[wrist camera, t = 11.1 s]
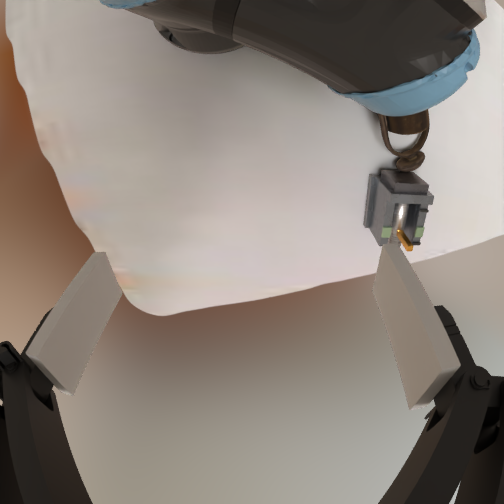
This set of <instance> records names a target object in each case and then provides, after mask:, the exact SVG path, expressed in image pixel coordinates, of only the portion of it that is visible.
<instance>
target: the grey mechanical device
mask: <svg viewBox="0 0 504 504" xmlns="http://www.w3.org/2000/svg"><path fill="white" fill-rule="evenodd" d="M381 179H382V180H383V181H384V182H385V183H386V184H387V185H388V186H389V187H390V188H391V189H392V190H393V191H394V192H406V193H425V194H427V193H428V187H429V185H428V184H427V183H426V182H425V181H424V180H422V179H421V178H420V177H419V176H417V175H416V174H415V173H414V172H410V171H409V172H403V171H396V170H382V171H381ZM408 208H409V204H402V203H395V207H394V213H393V219H392V224H391V227H392V230H391V235H390V238H389V240H388V244H398V245H399V247H400V246H401V243H402V244H403V246H404V247H405V249H406V251H412V250H413V244H412V243H411V242H410V240H409V239H408V237H407V236H406V234H405V233H404V228H405V223H406V218H407V213H408Z"/></svg>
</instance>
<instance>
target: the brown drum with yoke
mask: <svg viewBox="0 0 504 504" xmlns="http://www.w3.org/2000/svg"><path fill="white" fill-rule="evenodd" d="M378 117H379V121H380V126H381V132H382V137H383V140H384V143H385V145H386V147H387V149H388V150H389V151H390V152H391V153H392V154H394V155H396V156H398V157H401V158H400V159H399V160H398V161H397V163H396V167H397V168H398V169H399V170H400V171H403V172H409V171H413V170H415V169H417V168H418V167H420V166H421V164H422V163H423V161H424V159H425V155H424V153H423V152H418V151H419V150H420V149H421V148H422V147H423V145H424V143H425V141H426V139H427V136H428V132H429V125H430V124H429V113H428V109H427V110H424V111H422V112H419V113H415V114H411V115H406V116H386V115H382V114H379V113H378ZM388 131H390V132H392V133H396V134H401V135H410V134H417V133H420V132H422V131H423V132H422V134H421V136H420V139H419V140H418V142H417V143H416V144H415V146H414V147H413V148H411V149H409V150H407V151H405V152H401V153H400V152H396V151H395V150H394V149H393V148H392V147H391V145H390V141H389V137H388Z"/></svg>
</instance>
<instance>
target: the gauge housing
mask: <svg viewBox="0 0 504 504" xmlns="http://www.w3.org/2000/svg"><path fill="white" fill-rule="evenodd" d="M433 199H434V196H433V195H432V194H431V193H430V192H429V191H428V193H427V194H425V193H406V192H394V191H393V190H392V189H391V188H390V187H389V186H388V185H387V184H386V183H385V182H384V181H383V180H382V179H381V175H372V174H369V183H368V192H367V201H366V210H365V218H364V226H365V228H370V230H371V232H372V234H373V236H374V237H375V239H376V241H377V243H378V245H379V246H383V244H388V240H389V238H390V235H391V230H392V227H391V224H392V219H393V213H394V207H395V203H402V204H409V208H408V213H407V218H406V223H405V228H404V233H405V234H406V236H407V237H408V239H409V240H410V242H411V243H412V244H413V245H420V238H421V237H422V235H423V231H424V227H423V226H424V222H425V218H426V213H427V212H428V209H427V208H428V204H429V205H432V204H433Z"/></svg>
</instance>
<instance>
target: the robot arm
mask: <svg viewBox="0 0 504 504" xmlns="http://www.w3.org/2000/svg"><path fill="white" fill-rule="evenodd" d="M100 2H101V3H102V4H103V5H106V6H108V7H111V8H115V9H125V10H128V11H130V12H133V13H136V14H138V15H141V16H144V17H146V18H149V19H151V20H153V22H154V24H155V26H156V28H157V30H158V31H159V32H160V34H161V35H162V36H163V37H164V38H165V39H166V40H168V41H169V42H170V43H172V44H173V45H175V46H177V47H180V48H182V49H185V50H188V51H191V52H195V53H201V54H218V53H224V52H229V51H233V50H236V49H238V48H241V47H243V46H248V47H251V48H253V49H255V50H258V51H260V52H263V53H265V54H267V55H269V56H272V57H274V58H276V59H278V60H280V61H283V62H285V63H287V64H289V65H291V66H293V67H295V68H297V69H299V70H301V71H303V72H305V73H307V74H309V75H311V76H312V77H314V78H316V79H318V80H320V81H322V82H323V83H325V84H327V86H328V87H329V88H330V89H331V90H332V91H333V92H335V93H336V94H338V95H342V96H344V97H347V98H351V99H352V100H354V101H356V102H357V103H359V104H361V105H362V106H364V107H366V108H367V109H369V110H371V111H373V112H375V113H379V114H382V115H386V116H406V115H411V114H415V113H419V112H422V111H424V110H427V109H429V108H431V107H433V106H435V105H437V104H439V103H441V102H442V101H444V100H445V99H447V98H448V97H450V96H451V95H452V94H454V93H455V92H456V91H457V90H458V89H459V88H460V87H461V86H462V85H463V84H464V83H465V82H466V81H467V79H468V78H467V75H466V72H468V71H471V70H474V69H475V67H476V65H477V63H478V60H479V56H480V44H479V41H478V38H477V36H476V32H475V30H474V29H473V28H474V27H476V26H477V25H478V24H479V23H481V22H482V21H483V20H484V19H486V18H487V15H486V6H485V0H100ZM372 291H373V294H374V297H375V300H376V302H377V305H378V308H379V310H380V313H381V316H382V319H383V322H384V325H385V328H386V331H387V334H388V337H389V339H390V343H391V346H392V349H393V352H394V356H395V359H396V362H397V365H398V369H399V372H400V376H401V380H402V383H403V387H404V390H405V394H406V398H407V402H408V406H409V410H413V409H417V408H422V407H426V406H427V405H428V404H429V403H430V402H431V401H432V400H433V399H434V402H435V405H436V406H435V407H434V408H433V409H432V410H431V411H430V412H429V413H428V414H427V415H426V417H425V419H427V418H429V419H428V421H427V423H426V425H425V427H424V429H423V431H422V433H421V435H420V437H419V439H418V441H417V443H416V445H415V447H414V448H413V450H412V452H411V454H410V455H409V457H408V459H407V461H406V462H405V464H404V466H403V467H402V469H401V471H400V472H399V474H398V476H397V477H396V479H395V480H394V482H393V483H392V485H391V486H390V488H389V489H388V491H387V492H386V493H385V495H384V496H383V498H382V499H381V500H380V502H379V503H378V504H449V502H450V501H451V499H452V497H453V495H454V493H455V491H456V489H457V487H458V485H459V483H460V486H459V490H458V493H457V496H456V500H455V503H454V504H504V377H501V376H491V375H490V374H489V373H488V371H487V370H486V369H484V368H483V367H480V366H476V364H475V363H474V360H473V358H472V356H471V354H470V352H469V349H468V347H467V345H466V343H465V341H464V339H463V337H462V335H461V334H460V331H459V329H458V327H457V326H456V323H455V321H454V319H453V317H452V315H451V314H450V313H449V312H448V311H447V310H446V309H445V308H444V307H443V306H442V305H441V306H433V304H432V302H431V300H430V299H429V297H428V295H427V293H426V291H425V289H424V287H423V286H422V284H421V282H420V280H419V278H418V277H417V275H416V273H415V272H414V270H413V268H412V267H411V265H410V263H409V261H408V260H407V258H406V256H405V255H404V253H403V251H402V250H401V248H400V247H399V245H398V244H383V246H382V251H381V256H380V260H379V265H378V269H377V273H376V278H375V282H374V286H373V290H372ZM121 295H122V291H121V289H120V287H119V284H118V282H117V280H116V277H115V275H114V272H113V270H112V268H111V265H110V263H109V260H108V257H107V255H106V252H94V253H93V254H92V255H91V257H90V258H89V259H88V260H87V262H86V263H85V264H84V266H83V267H82V268H81V270H80V271H79V272H78V274H77V275H76V276H75V278H74V279H73V280H72V282H71V283H70V285H69V286H68V287H67V289H66V290H65V292H64V293H63V294H62V296H61V297H60V299H59V300H58V302H57V303H56V305H55V306H54V307H53V308H52V309H51V310H50V311H49V312H47V313H46V314H45V316H44V317H43V319H42V320H41V322H40V324H39V325H38V327H37V329H36V331H34V333H33V335H32V336H31V338H30V340H29V341H28V343H27V345H26V346H25V348H24V350H23V352H22V353H21V355H20V354H19V353H18V352H17V351H16V349H15V348H14V347H13V345H12V344H11V343H10V342H9V341H4V342H1V343H0V399H1V400H2V401H3V404H2V406H1V405H0V504H93V503H92V501H91V499H90V497H89V495H88V493H87V491H86V488H85V486H84V484H83V481H82V479H81V477H80V474H79V471H78V469H77V466H76V464H75V461H74V458H73V455H72V453H71V450H70V447H69V443H68V440H67V437H66V434H65V431H64V427H63V424H62V420H61V416H60V412H59V408H58V404H57V400H56V395H55V393H54V391H53V390H52V387H53V385H54V386H55V387H56V388H57V389H58V390H59V391H60V392H62V393H65V394H68V395H71V396H73V395H74V393H75V390H76V388H77V386H78V384H79V381H80V379H81V377H82V374H83V372H84V370H85V368H86V365H87V363H88V361H89V359H90V357H91V355H92V352H93V350H94V348H95V346H96V344H97V342H98V340H99V338H100V336H101V334H102V332H103V330H104V328H105V326H106V324H107V322H108V320H109V318H110V316H111V314H112V312H113V310H114V308H115V306H116V305H117V303H118V301H119V299H120V297H121ZM460 481H461V482H460Z"/></svg>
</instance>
